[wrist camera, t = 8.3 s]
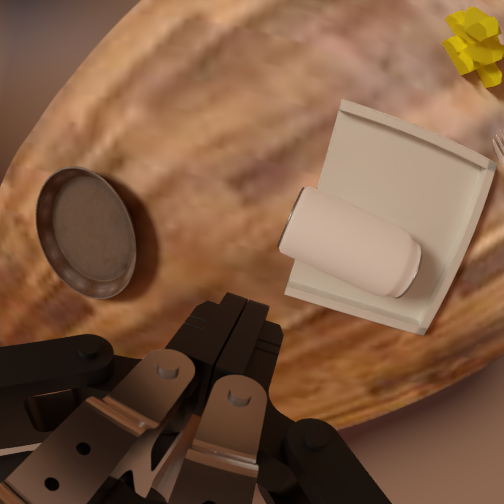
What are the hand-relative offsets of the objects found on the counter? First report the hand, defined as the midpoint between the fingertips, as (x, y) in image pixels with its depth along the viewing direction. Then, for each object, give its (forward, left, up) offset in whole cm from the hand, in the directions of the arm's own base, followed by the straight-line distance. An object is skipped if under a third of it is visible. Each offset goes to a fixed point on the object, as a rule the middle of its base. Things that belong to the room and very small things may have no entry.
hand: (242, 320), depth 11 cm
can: (-1, +1, -19) cm, 19 cm away
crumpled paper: (+9, -22, -23) cm, 33 cm away
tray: (-5, -8, -22) cm, 24 cm away
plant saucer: (+5, +27, -23) cm, 35 cm away
